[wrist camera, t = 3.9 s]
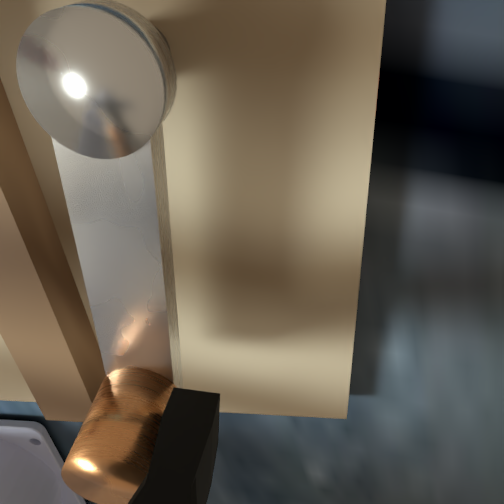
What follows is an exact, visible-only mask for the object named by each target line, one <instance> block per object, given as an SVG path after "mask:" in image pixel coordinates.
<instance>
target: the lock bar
mask: <svg viewBox="0 0 504 504" xmlns="http://www.w3.org/2000/svg"><path fill="white" fill-rule="evenodd" d="M16 71H17V79H18V84H19V87H20V91H21V94H22V96H23V99H24V101H25V103H26V105H27V107H28V109H29V111H30V112H31V114H32V115H33V117H34V118H35V120H36V121H37V122H38V124H39V125H40V126H41V127H42V128H43V129H44V130H45V131H46V132H47V133H48V134H49V135H50V136H51V138H52V142H53V147H54V151H55V155H56V160H57V164H58V168H59V173H60V177H61V182H62V186H63V190H64V195H65V199H66V203H67V208H68V212H69V217H70V221H71V225H72V230H73V234H74V238H75V243H76V247H77V251H78V256H79V260H80V265H81V269H82V273H83V278H84V282H85V286H86V291H87V295H88V299H89V304H90V308H91V313H92V317H93V321H94V326H95V330H96V334H97V339H98V343H99V347H100V352H101V356H102V361H103V365H104V369H105V374H106V377H105V378H104V380H103V382H102V384H101V386H100V388H99V390H98V392H97V394H96V397H95V399H94V401H93V403H92V405H91V407H90V409H89V412H88V414H87V416H86V418H85V420H84V422H83V424H82V427H81V429H80V431H79V433H78V435H77V437H76V439H75V441H74V444H73V446H72V448H71V450H70V452H69V454H68V456H67V459H66V461H65V463H64V465H63V467H62V470H61V476H62V479H63V481H64V482H65V484H66V485H67V486H68V487H69V488H70V489H71V490H72V491H74V492H75V493H76V494H78V495H80V496H81V497H83V498H85V499H87V500H89V501H92V502H94V503H97V504H128V502H129V501H130V499H131V498H132V496H133V495H134V493H135V492H136V490H137V489H138V487H139V486H140V484H141V483H142V481H143V480H144V478H145V477H146V475H147V474H148V471H149V467H150V463H151V458H152V454H153V450H154V446H155V442H156V438H157V434H158V430H159V426H160V422H161V418H162V415H163V412H164V410H165V407H166V405H167V402H168V400H169V397H170V395H171V393H172V390H173V388H174V387H176V388H183V378H182V365H181V352H180V340H179V327H178V314H177V302H176V289H175V276H174V264H173V251H172V238H171V226H170V213H169V200H168V188H167V175H166V162H165V150H164V137H163V124H162V123H163V122H164V121H165V119H166V118H167V116H168V115H169V113H170V112H171V109H172V107H173V105H174V101H175V97H176V91H177V76H176V69H175V64H174V60H173V58H172V55H171V52H170V50H169V48H168V46H167V44H166V42H165V40H164V39H163V37H162V36H161V34H160V33H159V32H158V30H157V29H156V28H155V27H154V26H153V25H152V24H151V23H150V22H149V21H148V20H147V19H146V18H145V17H144V16H142V15H141V14H140V13H139V12H137V11H135V10H134V9H132V8H130V7H128V6H126V5H124V4H122V3H119V2H115V1H112V0H85V1H81V2H77V3H74V4H70V5H67V6H63V7H60V8H56V9H53V10H50V11H48V12H46V13H44V14H42V15H41V16H39V17H38V18H37V19H35V20H34V21H33V22H32V23H31V24H30V25H29V27H28V28H27V29H26V31H25V33H24V34H23V36H22V38H21V41H20V44H19V46H18V51H17V58H16Z"/></svg>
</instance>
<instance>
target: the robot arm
mask: <svg viewBox="0 0 504 504" xmlns="http://www.w3.org/2000/svg"><path fill="white" fill-rule="evenodd" d="M219 410H220V393H212V392H205V391H198V390H190V389H183V388H176V387H174V388H173V390H172V393H171V395H170V397H169V400H168V402H167V405H166V407H165V410H164V412H163V415H162V418H161V422H160V426H159V430H158V434H157V438H156V442H155V446H154V450H153V454H152V458H151V463H150V467H149V471H148V474H147V475H146V477H145V478H144V480H143V481H142V483H141V484H140V486H139V487H138V489H137V490H136V492H135V493H134V495H133V496H132V498H131V499H130V501H129V502H128V504H206V502H207V498H208V494H209V491H210V487H211V481H212V476H213V470H214V464H215V458H216V451H217V445H218V432H219ZM63 465H64V462H63V460H62V458H61V456H60V454H59V452H58V451H57V449H56V447H55V445H54V443H53V441H52V440H51V438H50V436H49V434H48V432H47V430H46V429H45V427H44V426H43V425H42V424H40V423H38V422H34V421H19V420H3V419H0V504H86V502H85V500H84V499H83V497H81V496H80V495H78V494H76V493H75V492H74V491H72V490H71V489H70V488H69V487H68V486H67V485H66V484H65V482H64V481H63V479H62V476H61V470H62V467H63Z"/></svg>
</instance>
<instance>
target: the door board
mask: <svg viewBox="0 0 504 504" xmlns="http://www.w3.org/2000/svg"><path fill="white" fill-rule="evenodd" d="M81 1H85V0H0V400H8V401H26V402H37V404H38V406H39V408H40V410H41V411H42V413H43V415H44V417H45V419H46V420H56V421H73V422H84V420H85V418H86V416H87V414H88V412H89V409H90V407H91V405H92V403H93V401H94V399H95V397H96V394H97V392H98V390H99V388H100V386H101V384H102V382H103V380H104V378H105V377H106V374H105V369H104V365H103V361H102V356H101V352H100V347H99V343H98V339H97V334H96V330H95V326H94V321H93V317H92V313H91V308H90V304H89V299H88V295H87V291H86V286H85V282H84V278H83V273H82V269H81V265H80V260H79V256H78V251H77V247H76V243H75V238H74V234H73V230H72V225H71V221H70V217H69V212H68V208H67V203H66V199H65V195H64V190H63V186H62V182H61V177H60V173H59V168H58V164H57V160H56V155H55V151H54V147H53V142H52V138H51V136H50V135H49V134H48V133H47V132H46V131H45V130H44V129H43V128H42V127H41V126H40V125H39V124H38V122H37V121H36V120H35V118H34V117H33V115H32V114H31V112H30V111H29V109H28V107H27V105H26V103H25V101H24V99H23V96H22V94H21V91H20V87H19V84H18V79H17V71H16V58H17V51H18V46H19V44H20V41H21V38H22V36H23V34H24V33H25V31H26V29H27V28H28V27H29V25H30V24H31V23H32V22H33V21H34V20H35V19H37V18H38V17H39V16H41V15H42V14H44V13H46V12H48V11H50V10H53V9H56V8H60V7H63V6H67V5H70V4H74V3H77V2H81ZM112 1H115V2H119V3H122V4H124V5H126V6H128V7H130V8H132V9H134V10H135V11H137V12H139V13H140V14H141V15H142V16H144V17H145V18H146V19H147V20H148V21H149V22H150V23H151V24H152V25H153V26H154V27H155V28H156V29H157V30H158V32H159V33H160V34H161V36H162V37H163V39H164V40H165V42H166V44H167V46H168V48H169V50H170V52H171V55H172V58H173V60H174V64H175V69H176V76H177V91H176V97H175V101H174V105H173V107H172V109H171V112H170V113H169V115H168V116H167V118H166V119H165V121H164V122H163V123H162V124H163V137H164V150H165V162H166V175H167V188H168V200H169V213H170V226H171V238H172V251H173V264H174V276H175V289H176V302H177V314H178V327H179V340H180V352H181V365H182V378H183V389H190V390H198V391H205V392H212V393H220V410H219V412H228V413H247V414H265V415H283V416H302V417H320V418H339V419H347V409H348V399H349V388H350V377H351V367H352V356H353V346H354V335H355V325H356V314H357V303H358V293H359V282H360V272H361V261H362V251H363V240H364V229H365V219H366V208H367V198H368V187H369V177H370V166H371V155H372V145H373V134H374V124H375V113H376V103H377V92H378V82H379V71H380V60H381V50H382V39H383V29H384V18H385V8H386V0H112Z"/></svg>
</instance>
